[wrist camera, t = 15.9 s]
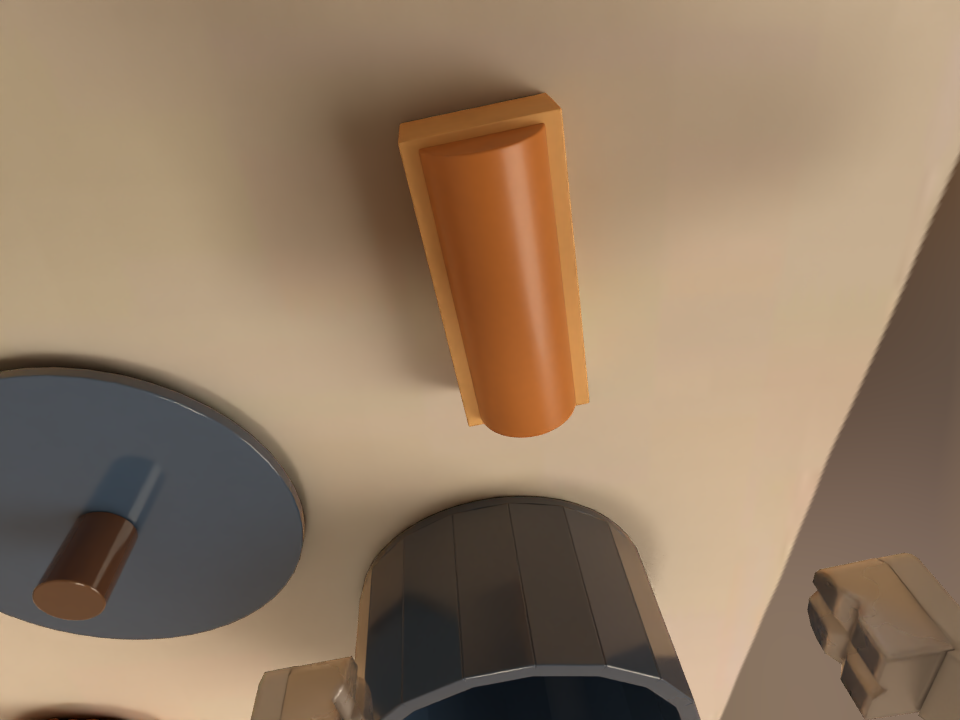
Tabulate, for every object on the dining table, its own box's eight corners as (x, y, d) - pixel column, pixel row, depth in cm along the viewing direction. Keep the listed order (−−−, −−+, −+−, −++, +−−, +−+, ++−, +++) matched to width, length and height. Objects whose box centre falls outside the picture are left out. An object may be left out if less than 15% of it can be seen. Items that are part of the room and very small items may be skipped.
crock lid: (-209, 404, 23) (-337, 496, 19) (220, 319, 22) (179, 395, 19) (46, 642, 32) (-5, 736, 28) (350, 586, 32) (341, 672, 28)
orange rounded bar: (399, 123, 19) (395, 157, 16) (546, 92, 19) (574, 120, 16) (464, 390, 25) (472, 455, 22) (575, 368, 25) (600, 430, 22)
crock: (320, 530, 29) (291, 711, 22) (638, 468, 29) (710, 632, 22) (400, 688, 38) (397, 853, 31) (645, 642, 38) (698, 799, 31)
